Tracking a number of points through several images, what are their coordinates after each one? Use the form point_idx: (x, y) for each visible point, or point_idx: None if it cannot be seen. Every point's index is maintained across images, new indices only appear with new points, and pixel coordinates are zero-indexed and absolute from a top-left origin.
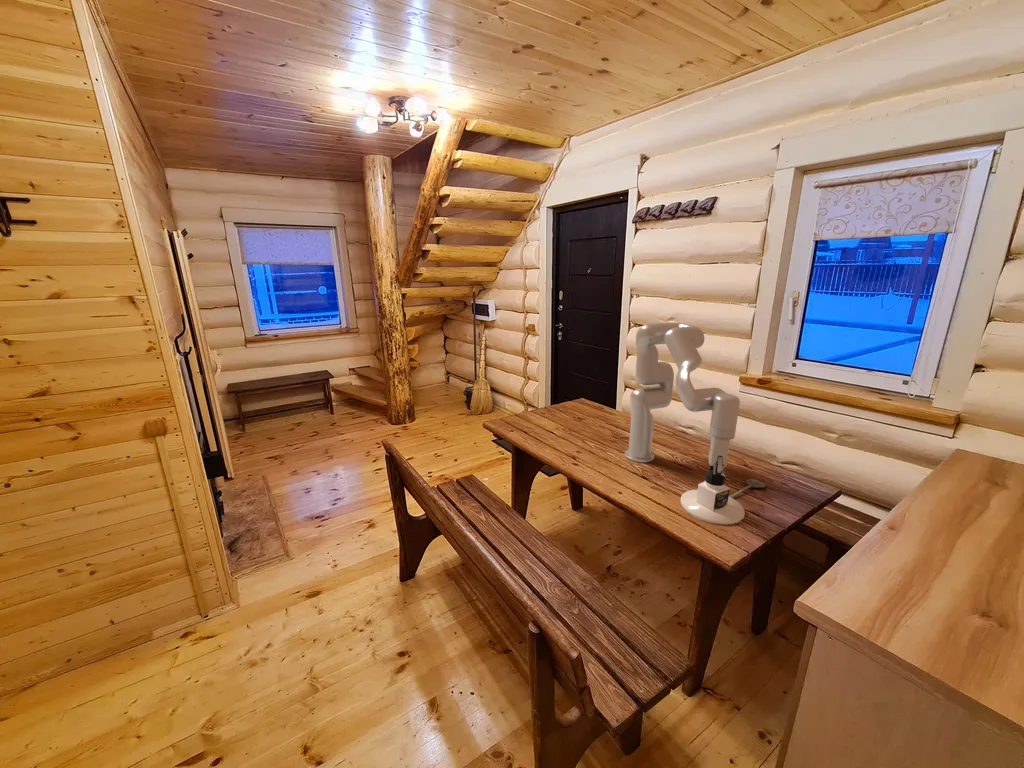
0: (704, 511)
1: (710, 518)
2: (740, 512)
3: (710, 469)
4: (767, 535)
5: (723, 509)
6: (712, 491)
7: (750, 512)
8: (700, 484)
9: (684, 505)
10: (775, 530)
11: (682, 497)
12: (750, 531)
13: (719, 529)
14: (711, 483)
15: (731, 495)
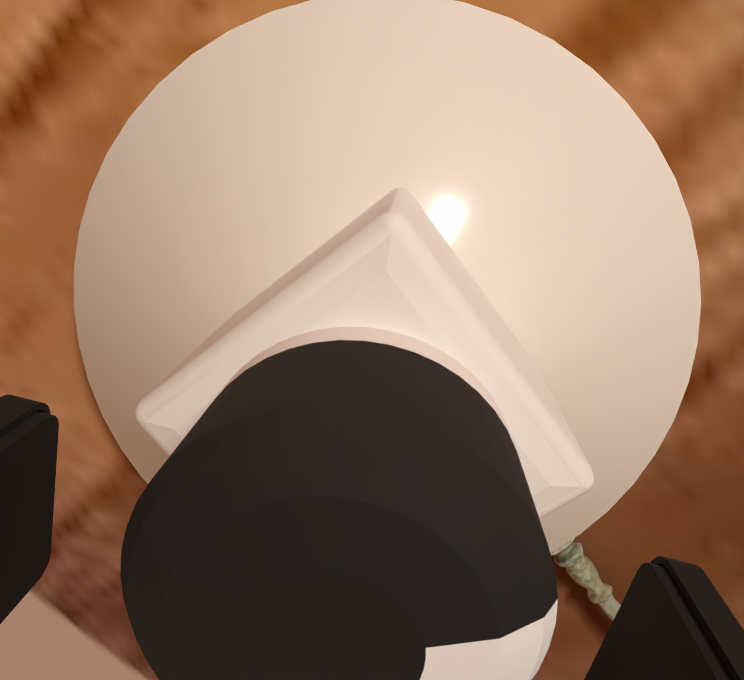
0: (212, 227)
1: (95, 253)
2: None
3: (679, 585)
4: (62, 605)
5: None
6: (173, 377)
7: None
8: (365, 243)
9: (291, 15)
10: (144, 673)
11: (485, 31)
12: (73, 519)
13: (14, 295)
14: (1, 403)
15: (585, 575)
